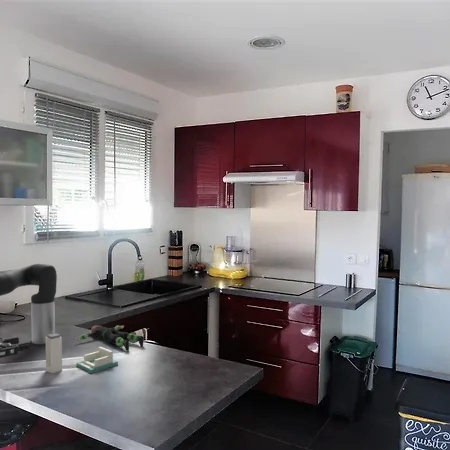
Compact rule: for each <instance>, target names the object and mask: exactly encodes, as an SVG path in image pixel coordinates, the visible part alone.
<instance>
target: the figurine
mask: <svg viewBox="0 0 450 450" xmlns="http://www.w3.org/2000/svg"><path fill="white" fill-rule="evenodd" d="M123 328H124V325H116V326H115V327H106V326H102V325H94V326H92V327H91V329H90V331H91V332H90V333H89V332H88V333H87V334H86V333H83V334H81V335H79V336H78V337H75V338H74V340H75V341H79V340H86V339H87V338H91V337H95V338H98V339H99V340H105V341H107V342H109V343H111V344H113V345H114V346H117V347H119V348H123V347H124V349H125V351H126V352H129V351H130V343H131V344H136V343H137V342H138V343H139V346H140V348H143V347H144V341H145V340H144V339H145V338H144V336H142V335H137V334H133V333H129V332H128V331H120V330H121V329H123Z"/></svg>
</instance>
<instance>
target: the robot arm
mask: <svg viewBox="0 0 450 450" xmlns="http://www.w3.org/2000/svg"><path fill="white" fill-rule="evenodd" d="M57 280H58V278H57V271H56V268H55V266H53V265H52V264H45V263H35V264H31V265H28V266H25V267H21V268H19V269H18V268H17V269H10V270H2V271H0V297H1V296H5V295H7V294H10V293H13V292H14V291H15V290H16V289H18V288H20V287H24V286H38V291H37V293H35V294H32V295H31V297H30V303H31V304H30V306H31V308H30V309H31V310H30V312H31V320H30V321H31V322H30V323H31V343H32V344H34V345H46V337H47V335H49V334H54V333H56V332H55V331H56V326H55V325H56V322H55V319H56V317H55V316H56V315H55V314H56V313H55V311H56V310H55V308H56V307H55V298H56V293H57ZM19 340H20V338H19V337H18V336H14V337H11V338H5V337H4V338H3V337H0V359H1V358H7V357H10V356H16V355H19V352H21V351H27V350H30V349H31V348H30V347H31V345H30V344H31V343H30V342H28V341H27V342H22V343H20V341H19Z"/></svg>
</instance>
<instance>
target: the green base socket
mask: <svg viewBox="0 0 450 450" xmlns="http://www.w3.org/2000/svg"><path fill="white" fill-rule="evenodd" d="M97 349H98V350H97V351H94V352H91V353H86V354H84V355H83V359H82V360H80V361H79V362H76V364H75V365H76V367H77V366H78V367H77V368H79V367H80V368H79V369H81V368H82V369H81V370H83V369H84V371H85V372H88V373H90V374H93V373H96V372H99V371H103V370H107V369H109V367H110V368H112V367H116V366H119V361H118V360H115V359H114V351H113V350H111V349H107V348H105V347H103V346H98V347H97Z"/></svg>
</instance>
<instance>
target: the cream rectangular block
mask: <svg viewBox="0 0 450 450" xmlns="http://www.w3.org/2000/svg"><path fill="white" fill-rule="evenodd" d="M45 370H46V372H48V373H50V374H54V373H55V374H56V373H58V372H62V371H63V337H62V336H61V334H59V333H57V332H55V333H54V334H49V335H47V337H46V344H45Z"/></svg>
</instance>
